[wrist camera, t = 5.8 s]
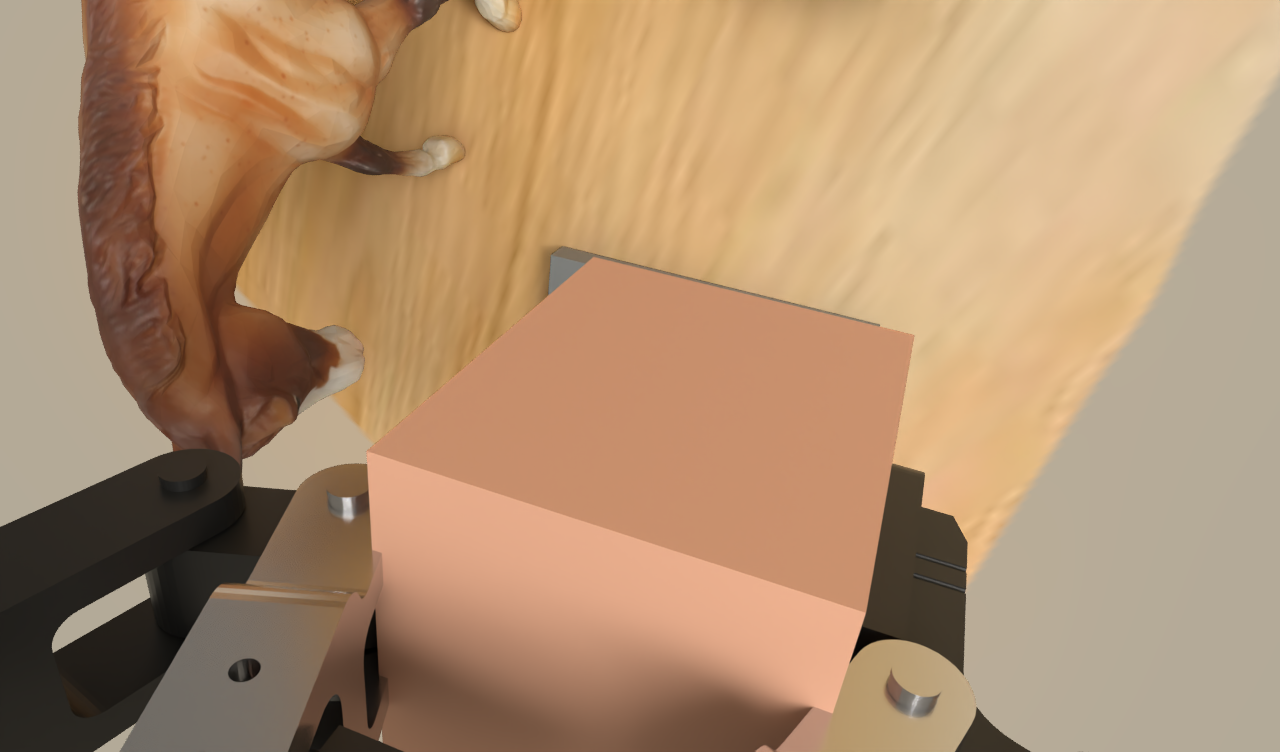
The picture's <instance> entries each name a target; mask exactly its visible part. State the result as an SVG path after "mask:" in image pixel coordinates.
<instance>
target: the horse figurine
mask: <svg viewBox="0 0 1280 752" xmlns="http://www.w3.org/2000/svg"><path fill="white" fill-rule="evenodd" d="M81 1H82V28H83V44H84V50H85V57H86V62H85V66H84V69H83V73H82V77H81V78H82V79H81V105H80V111H79V117H78V123H79V124H78V126H79V127H78V128H79V129H78V130H79V140H80V176H79V185H78V206H79V217H80V225H81V232H82V240H83V247H84V253H85V260H86V267H87V273H88V287H89V293H90V299H91V302H92V304H93V306H94V308H95V312H96V317H97V321H98V326H99V331H100V335H101V339H102V342H103V345H104V348H105V351H106V354H107V356H108V358H109V359H110V361H111V363H112V367H113V369H114V371H115V372H116V373H117V374H118V376H119V377H120V379H121V381H122V383H123V385H124V387H125V388H126V389H127V390H128V392H129V393H130V394H131V395H132V397H133V398H134V399H135V400H136V401H137V404H138V406H139V408H140V409H141V411H142V412H143V414H144V415H145V416H146V418H147V419H148V420H150V421H151V422H152V423H153V424H154V425H155V426H156V427H157V428H158V429H159V430H160V431H161V432H162V433H163V434H164V435H165V436H166V437H168V438H169V439H170V440H171V441H172V446H173V452H174V451H179V450H185V449H211V450H216V451H220V452H223V453H226V454H228V455H230V456H232V457H233V458H234V459H235V460H236V461H237V462H238V463H239V465H240V468H241V473H242V459H245V458H247V457H250V456H253V455H254V454H255V453H256V452H257V451H258V450H259V449H260V448H262V447H263V446H265V445H267V444H268V443H269V442H270V441H271V440H272V439H273V438H274V437H275V436H276V435H277V433H278V432H279V431H281V430H282V429H283V428H284V427H285V426H287V425H290V424H292V423H293V422H294V421H295V420H296V419H297V416H298V415H299V414H300V413H302V412H303V411H304V410H306V409H307V408H309V407H310V406H312V405H313V404H315V403H316V402H318V401H320V400H322V399H324V398H325V397H327V396H329V395H331V394H334V393H337V392H339V391H342V390H343V389H345V388H347V387H348V386H350V385H351V384H353V383H355V382H357V381H358V380H359V379H360V377H361V374H362V372H363V369H364V361H365V358H364V356H363V351H364V348H363V345H362V343H361V342H360V341H359V340H358V339H357V338H356V337H355V336H354V334H353V333H352V332H350V331H349V330H347V329H345V328H342V327H339V326H336V325H332V326H327V327H324V328H322V329H320V330H317V331H316V330H308V329H305V328H302V327H299V326H296V325H293V324H290V323H286V322H285V321H284V320H283V319H282V318H280V317H277V316H275V315H273V314H271V313H269V312H267V311H265V310H261V309H256V308H252V307H247V306H242V305H240V304H238V303H236V301H235V296H234V291H235V288H236V280H237V275H238V272H239V270H240V268H241V266H242V264H243V262H244V260H245V258H246V256H247V254H248V252H249V250H250V248H251V246H252V245H253V243H254V241H255V239H256V237H257V236H258V234H259V232H260V230H261V229H262V227H263V225H264V223H265V222H266V220H267V218H268V216H269V214H270V211H271V209H272V207H273V205H274V203H275V201H276V199H277V197H278V195H279V193H280V191H281V190H282V188H283V186H284V185H285V183H286V181H287V179H288V178H289V176H290V175H291V173H292V172H293V171H294V170H295V169H296V168H297V167H299V166H300V165H301V164H304V163H306V162H310V161H316V160H325V161H328V162H331V163H335V164H338V165H341V166H343V167H346V168H349V169H351V170H353V171H356V172H359V173H363V174H368V175H381V174H397V175H405V176H418V177H422V176H425V175H428V174H429V173H431V172H432V171H434V170H440V169H445V168H446V167H447V166H449V165H450V164H453V163H455V162H458V161H460V160H462V159H463V157H464V154H465V150H464V147H463V146H462V144H461V143H460V142H459V141H457V140H456V139H455V138H453V137H450V136H432V137H430V138H428V139H427V140H426V141H425V143H424V144H423V150H421V149H416V150H412V151H400V152H392V151H388V150H385V149H382V148H381V147H379V146H377V145H374V144H372V143H371V142H369V141H367V140H364V139H363V138H362V137H361V136H360V135H361V133H362V132H363V131H364V129H365V127H366V125H367V123H368V120H369V117H370V113H371V110H372V106H373V102H374V98H375V91H376V86H377V84H379V83H380V82H381V81H382V80H383V79H384V77H385V76H386V75H387V74H388V72H389V70H390V68H391V67H392V63H393V59H394V57H395V55H396V53H397V51H398V49H399V47H400V45H401V43H402V42H403V40H404V39H405V37H406V36H407V35H408V34H409V32H410V31H411V30H413V29H415V28H416V27H418V26H420V25H422V24H423V23H424V22H426V21H428V20H429V19H431V18H432V17H433V16H434V15H435V14H436V13H437V11H438V10H439V7H440V5H441V4H442V3H444V2H446V1H448V0H364V1H362V2H360V3H358V4H356V5H352V4H350V3H349V2H348V1H347V0H81ZM475 5H476V7H477V8H478V10H479V12H480V14H481V15H482V16H483V17H484V18H485V19H487V20H488V21H489V22H490V23H491V24H492V25H493V26H495V27H496V28H498V29H500V30H501V31H505V32H510V31H514V30H516V29H517V28H518V27H519V25H520V22H521V19H522V15H521V9H520V6H519V3H518V1H517V0H475Z"/></svg>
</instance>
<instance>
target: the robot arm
mask: <svg viewBox="0 0 1280 752" xmlns="http://www.w3.org/2000/svg"><path fill="white" fill-rule="evenodd" d="M924 478H925V473H924V472H921V471H917V470H914V469H910V468H907V467H903V466H899V465H896V464H892V467H891V472H890V478H889V484H888V490H887V495H886V501H885V507H884V513H883V518H882V524H881V530H880V536H879V541H878V547H877V553H876V558H875V564H874V570H873V576H872V581H871V587H870V593H869V599H868V604H867V610H866V614H865V617H864V620H863V624H862V627H861V630H860V633H859V636H858V639H857V642H856V645H855V648H854V651H853V654H852V657H851V660H850V663H849V666H848V669H847V672H846V675H845V678H844V681H843V684H842V687H841V690H840V693H839V696H838V699H837V702H836V705H835V708H834V711H833V713H830V712H827V711H824V710H821V709H818V708H816V707H813V708H812V709H811V710H810V711H809V713H808V714H807V715H806V716H805V717H804V719H803V720H802V721H801V722H800V723H799V724H798V726H797V727H796V728H795V729H794V730H793V732H792V733H791V734H790V735H789V736H788V738H787V739H786V740H785V741H784V742H783V744H782V745H781V746H780V747H779V748H778V749H776V750H774V749H772V748H771V747H770V746H768V745H764V746H762V747H760V748H759V749H757V750H756V751H755V752H1030V751H1029V750H1027V749H1025V748H1024V747H1022V746H1021V745H1019V744H1017V743H1016V742H1014V741H1013V740H1011V739H1010V738H1008V737H1007V736H1005V735H1004V734H1003V733H1001V732H1000V731H999V730H998V729H996V728H995V727H994V726H993V725H992V724H991V723H990V722H989V721H988V720H987V719H986V718H985V717H984V716H983V714H982V713H981V712H980V711H979V709H978V708H977V707H976V699H975V696H974V693H973V690H972V688H971V686H970V684H969V682H968V681H967V680H966V678H965V677H964V673H963V667H964V666H963V665H964V635H965V634H964V633H965V604H966V594H965V590H966V573H965V572H966V568H967V541H966V539H965V537H964V535H963V533H962V532H961V530H960V528H959V526H958V524H957V522H956V521H955V519H954V517H953V516H951V515H947V514H944V513H940V512H937V511H934V510H930V509H927V508H923V507H921V505H922V496H923V487H924ZM143 574H145V575H146V580H147V584H148V588H149V593H150V598H148V599H147V600H145V601H143V602H142V603H140V604H138V605H136V606H134V607H133V608H131V609H129V610H127V611H126V612H124V613H122V614H120V615H119V616H117V617H115V618H113V619H112V620H110V621H109V622H106V623H105V624H103V625H101V626H100V627H98V628H96V629H94V630H92V631H91V632H89V633H87V634H86V635H84V636H82V637H80V638H79V639H77V640H75V641H73V642H72V643H70V644H68V645H67V646H65V647H63V648H61V649H59V650H58V651H56V652H54V653H53V652H52V641H53V637H54V635H55V633H56V631H57V630H58V628H59V627H60V626H61V624H62V623H63V622H64V621H65V620H66V619H67V618H68V617H69V616H70V615H72V614H73V613H75V612H77V611H78V610H80V609H82V608H84V607H85V606H87V605H89V604H91V603H93V602H95V601H96V600H98V599H100V598H102V597H104V596H105V595H107V594H109V593H111V592H113V591H114V590H116V589H118V588H120V587H122V586H124V585H125V584H127V583H129V582H131V581H133V580H135V579H136V578H138V577H140V576H142V575H143ZM382 587H383V566H382V553H380V552H377V551H374V550H372V540H371V523H370V505H369V487H368V469H367V464H344V465H337V466H334V467H330V468H327V469H324V470H321V471H319V472H317V473H315V474H313V475H312V476H310V477H309V478H307V479H306V480H305V481H304V482H303V483H302V484H301V485H300V486H299V488H298V489H297V490H284V489H272V488H260V487H248V486H243V480H242V473H241V468H240V465H239V463H238V462H237V461H236V460H235V459H234V458H233V457H232V456H230V455H228V454H226V453H223V452H220V451H216V450H211V449H185V450H179V451H174V452H170V453H167V454H163V455H160V456H158V457H155V458H153V459H150V460H148V461H146V462H144V463H142V464H139V465H137V466H135V467H133V468H130V469H128V470H126V471H124V472H122V473H119V474H117V475H115V476H113V477H111V478H108V479H106V480H104V481H102V482H99V483H97V484H95V485H93V486H90V487H88V488H86V489H84V490H82V491H80V492H77V493H75V494H73V495H70V496H68V497H66V498H64V499H62V500H59V501H57V502H55V503H53V504H50V505H48V506H46V507H44V508H42V509H39V510H37V511H35V512H33V513H30V514H28V515H26V516H24V517H21V518H19V519H17V520H15V521H13V522H11V523H8V524H6V525H4V526H1V527H0V752H94V751H95V750H97V749H98V748H100V747H101V746H102V745H104V744H105V743H107V742H108V741H110V740H111V739H113V738H114V737H116V736H117V735H119V734H120V733H122V732H123V731H125V730H126V729H128V728H129V727H131V726H132V725H134V724H135V723H136V722H137V723H136V724H135V726H134V728H133V730H132V731H131V733H130V735H129V736H128V738H127V740H126V742H125V744H124V745H123V747H122V748H121V750H120V752H404V751H401V750H399V749H397V748H394V747H392V746H389V745H387V744H384V743H382V742H380V741H378V740H379V737H380V733H381V730H382V727H383V723H384V720H385V716H386V713H387V710H388V706H389V691H388V678H385V677H383V676H380V675H379V666H378V648H377V630H376V612H375V607H376V604H377V601H378V598H379V595H380V593H381V590H382Z"/></svg>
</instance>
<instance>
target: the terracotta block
mask: <svg viewBox="0 0 1280 752" xmlns="http://www.w3.org/2000/svg"><path fill="white" fill-rule="evenodd" d="M913 341H914V335H912V334H908V333H904V332H899V331H895V330H891V329H887V328H883V327H879V326H875V325H871V324H867V323H863V322H858V321H854V320H850V319H846V318H842V317H838V316H834V315H830V314H826V313H822V312H818V311H813V310H809V309H805V308H801V307H797V306H793V305H789V304H785V303H781V302H777V301H772V300H768V299H764V298H760V297H756V296H752V295H748V294H744V293H740V292H736V291H731V290H727V289H723V288H719V287H715V286H711V285H707V284H703V283H699V282H695V281H691V280H686V279H682V278H678V277H674V276H670V275H666V274H662V273H658V272H654V271H650V270H645V269H641V268H637V267H633V266H629V265H625V264H621V263H617V262H613V261H609V260H604V259H600V258H596V257H593V258H592V259H591V260H589V261H588V262H587V263H586V264H585V265H584V266H582V267H581V268H580V269H579V270H578V271H577V272H575V273H574V274H573V275H572V276H571V277H570V278H568V279H567V280H566V281H565V282H564V283H563V284H561V285H560V286H559V287H558V288H557V289H556V290H554V291H553V292H552V293H551V294H550V295H548V296H547V297H546V298H545V299H544V300H543V301H541V302H540V303H539V304H538V305H537V306H536V307H534V308H533V309H532V310H531V311H530V312H529V313H527V314H526V315H525V316H524V317H523V318H522V319H520V320H519V321H518V322H517V323H516V324H515V325H513V326H512V327H511V328H510V329H509V330H508V331H506V332H505V333H504V334H503V335H502V336H501V337H499V338H498V339H497V340H496V341H495V342H494V343H492V344H491V345H490V346H489V347H488V348H486V349H485V350H484V351H483V352H482V353H481V354H479V355H478V356H477V357H476V358H475V359H474V360H472V361H471V362H470V363H469V364H468V365H467V366H465V367H464V368H463V369H462V370H461V371H460V372H458V373H457V374H456V375H455V376H454V377H453V378H451V379H450V380H449V381H448V382H447V383H446V384H444V385H443V386H442V387H441V388H440V389H439V390H437V391H436V392H435V393H434V394H433V395H432V396H430V397H429V398H428V399H427V400H426V401H424V402H423V403H422V404H421V405H420V406H419V407H417V408H416V409H415V410H414V411H413V412H412V413H410V414H409V415H408V416H407V417H406V418H405V419H403V420H402V421H401V422H400V423H399V424H398V425H396V426H395V427H394V428H393V429H392V430H391V431H389V432H388V433H387V434H386V435H385V436H384V437H382V438H381V439H380V440H379V441H378V442H377V443H375V444H374V445H373V446H372V447H371V448H370V449H368V450H367V469H368V487H369V505H370V523H371V540H372V550H374V551H377V552H380V553H382V566H383V587H382V590H381V593H380V595H379V598H378V601H377V604H376V607H375V612H376V630H377V648H378V666H379V675H380V676H383V677H385V678H388V691H389V706H388V710H387V713H386V716H385V720H384V723H383V727H382V737H383V743H384V744H387V745H389V746H392V747H394V748H397V749H399V750H401V751H404V752H755V751H756V750H757V749H759V748H760V747H762V746H764V745H768V746H770V747H771V748H772V749H774V750H776V749H778V748H779V747H780V746H781V745H782V744H783V742H784V741H785V740H786V739H787V738H788V736H789V735H790V734H791V733H792V732H793V730H794V729H795V728H796V727H797V726H798V724H799V723H800V722H801V721H802V720H803V719H804V717H805V716H806V715H807V714H808V713H809V711H810V710H811V709H812V708H813V707H816V708H818V709H821V710H824V711H827V712H830V713H833V711H834V708H835V705H836V702H837V699H838V696H839V693H840V690H841V687H842V684H843V681H844V678H845V675H846V672H847V669H848V666H849V663H850V660H851V657H852V654H853V651H854V648H855V645H856V642H857V639H858V636H859V633H860V630H861V627H862V624H863V620H864V617H865V614H866V610H867V604H868V599H869V593H870V587H871V581H872V576H873V570H874V564H875V558H876V553H877V547H878V541H879V536H880V530H881V524H882V518H883V513H884V507H885V501H886V495H887V490H888V484H889V478H890V472H891V467H892V461H893V455H894V450H895V444H896V438H897V432H898V427H899V421H900V415H901V409H902V404H903V398H904V392H905V386H906V381H907V375H908V369H909V364H910V358H911V352H912V346H913Z"/></svg>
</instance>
